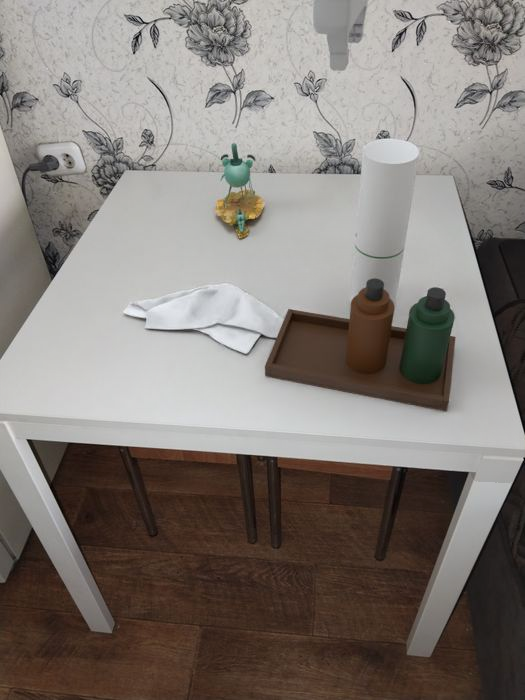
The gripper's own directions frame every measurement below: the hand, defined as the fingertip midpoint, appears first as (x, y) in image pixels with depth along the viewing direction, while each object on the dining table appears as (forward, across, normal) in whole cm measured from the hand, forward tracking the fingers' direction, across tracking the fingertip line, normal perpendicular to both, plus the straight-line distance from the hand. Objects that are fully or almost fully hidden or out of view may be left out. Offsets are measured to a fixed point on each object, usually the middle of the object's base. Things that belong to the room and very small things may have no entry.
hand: (347, 54), depth 67 cm
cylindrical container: (+37, +2, -5) cm, 38 cm away
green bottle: (+37, -11, -14) cm, 41 cm away
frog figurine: (+36, +22, +24) cm, 49 cm away
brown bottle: (+37, -11, -6) cm, 39 cm away
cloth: (+36, -7, +18) cm, 41 cm away
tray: (+37, -11, -6) cm, 39 cm away
